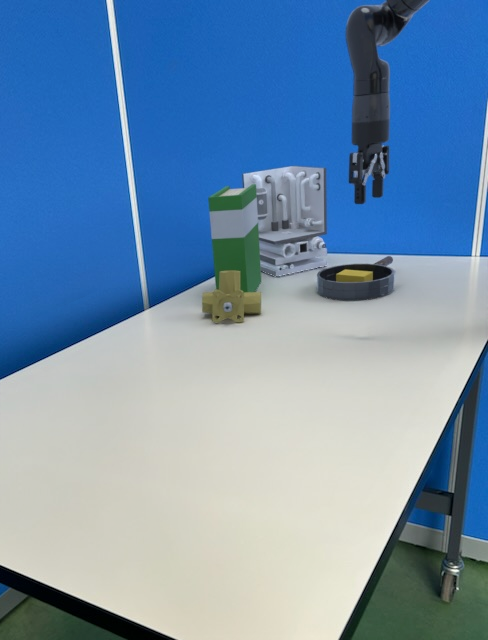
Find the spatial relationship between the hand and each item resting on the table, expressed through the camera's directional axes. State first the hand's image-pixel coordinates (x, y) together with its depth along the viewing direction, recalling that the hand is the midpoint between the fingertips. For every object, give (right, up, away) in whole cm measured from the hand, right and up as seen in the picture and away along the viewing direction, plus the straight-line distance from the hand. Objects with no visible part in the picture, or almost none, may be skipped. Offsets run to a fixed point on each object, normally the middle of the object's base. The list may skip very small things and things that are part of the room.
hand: (368, 200), depth 135 cm
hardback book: (-26, -17, +18) cm, 36 cm away
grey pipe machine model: (-12, -7, +36) cm, 39 cm away
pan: (0, -17, +10) cm, 20 cm away
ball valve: (-29, -25, +1) cm, 39 cm away
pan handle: (+8, -11, +19) cm, 23 cm away
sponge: (0, -17, +10) cm, 20 cm away
